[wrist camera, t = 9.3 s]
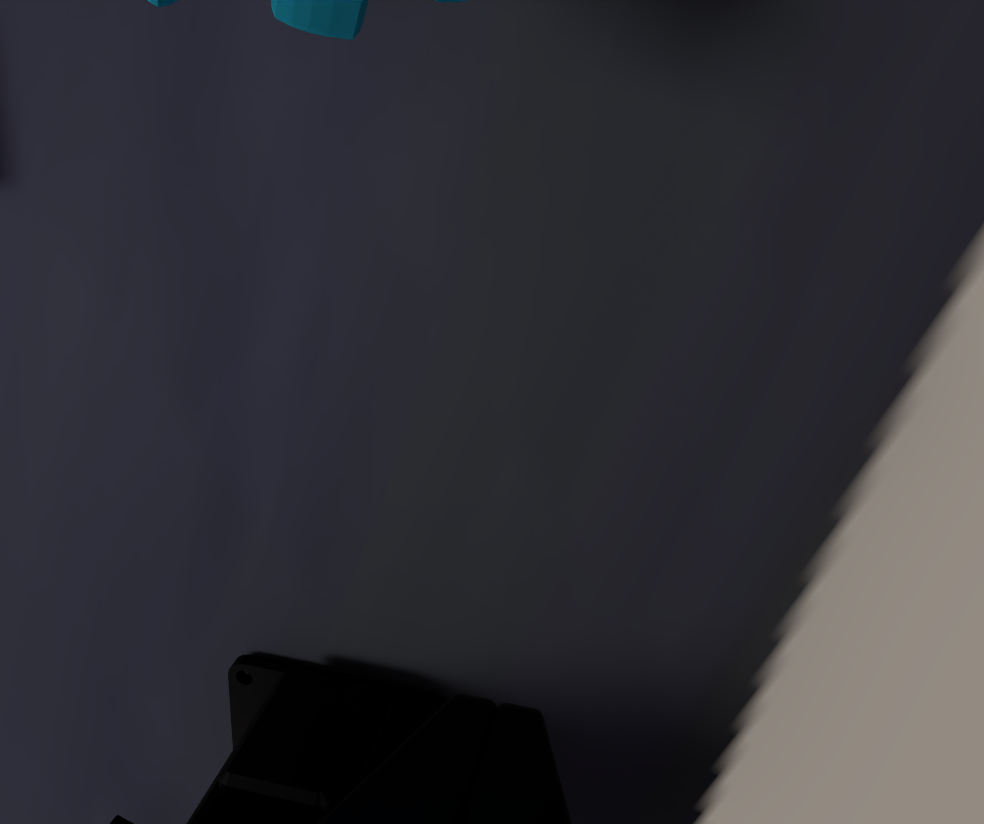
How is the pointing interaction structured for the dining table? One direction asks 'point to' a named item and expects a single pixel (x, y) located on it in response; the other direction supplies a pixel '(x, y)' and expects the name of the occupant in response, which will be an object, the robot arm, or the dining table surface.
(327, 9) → the gear
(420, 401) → the dining table surface
